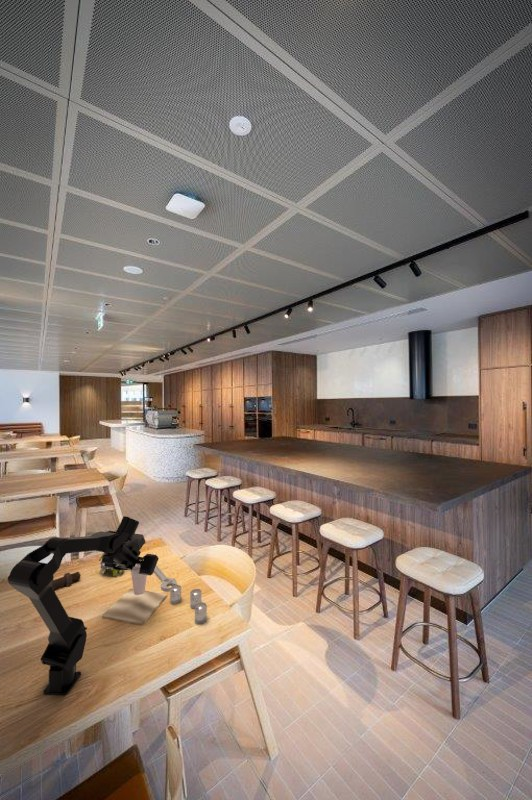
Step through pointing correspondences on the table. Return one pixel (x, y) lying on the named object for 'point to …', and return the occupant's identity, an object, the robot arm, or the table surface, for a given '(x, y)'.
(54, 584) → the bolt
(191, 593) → the posts
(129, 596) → the pad
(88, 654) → the table surface
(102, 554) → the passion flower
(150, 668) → the table surface
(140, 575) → the smoothie
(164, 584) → the adjustable wrench
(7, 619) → the table surface
